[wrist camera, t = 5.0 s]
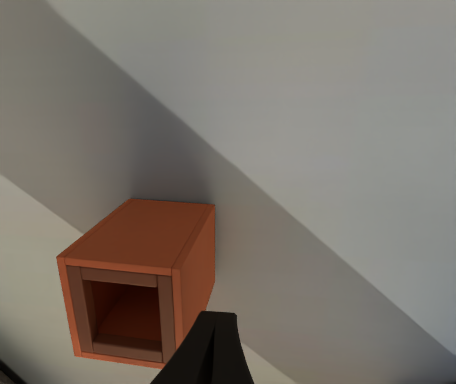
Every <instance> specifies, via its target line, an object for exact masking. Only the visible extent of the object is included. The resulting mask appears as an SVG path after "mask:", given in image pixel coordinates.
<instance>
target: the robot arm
mask: <svg viewBox="0 0 456 384" xmlns="http://www.w3.org/2000/svg"><path fill="white" fill-rule="evenodd" d="M150 384H254V382H253V379H252V377H251V374H250V371H249V369H248V366H247V363H246V360H245V356H244V353H243V350H242V346H241V343H240V338H239V333H238V328H237V315H236V314H235V313H228V312H213V311H201V312H200V313H199V314H198V316H197V318H196V320H195V322H194V324H193V326H192V327H191V329H190V331H189V332H188V334H187V335H186V337H185V338H184V340H183V341H182V343H181V344H180V346H179V347H178V349H177V350H176V352H175V353H174V354H173V356H172V357H171V358H170V360H169V361H168V362H167V364H166V365H165V366H164V367H163V369H162V370H161V371H160V372H159V374H158V375H157V376H156V377H155V378H154V380H153V381H152V382H151V383H150Z"/></svg>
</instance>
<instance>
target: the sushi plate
mask: <svg viewBox="0 0 456 384" xmlns="http://www.w3.org/2000/svg"><path fill="white" fill-rule="evenodd" d="M0 384H15V383H14V382H13V381H12V380H11V379H10V378H8V377H7V376H6V375H5V374H4V373H3V372H2V371H1V370H0Z"/></svg>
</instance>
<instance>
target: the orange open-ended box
mask: <svg viewBox="0 0 456 384" xmlns="http://www.w3.org/2000/svg"><path fill="white" fill-rule="evenodd" d="M56 259H57V264H58V269H59V275H60V280H61V286H62V291H63V296H64V302H65V307H66V312H67V318H68V323H69V328H70V334H71V339H72V344H73V350H74V355H75V356H76V357H83V358H90V359H97V360H104V361H110V362H117V363H124V364H131V365H138V366H144V367H151V368H158V369H163V367H164V366H165V365H166V364H167V362H168V361H169V360H170V358H171V357H172V356H173V354H174V353H175V352H176V350H177V349H178V347H179V346H180V344H181V343H182V341H183V340H184V338H185V337H186V335H187V334H188V332H189V331H190V329H191V327H192V326H193V324H194V322H195V320H196V318H197V316H198V314H199V313H200V312H201V311H205V310H206V307H207V304H208V301H209V298H210V295H211V292H212V289H213V286H214V283H215V205H213V204H209V205H208V204H198V203H184V202H170V201H155V200H141V199H128V200H127V201H126V202H124V203H123V204H122V205H121V206H119V207H118V208H117V209H116V210H114V211H113V212H112V213H111V214H109V215H108V216H107V217H106V218H104V219H103V220H102V221H100V222H99V223H98V224H97V225H95V226H94V227H93V228H92V229H90V230H89V231H88V232H87V233H85V234H84V235H83V236H82V237H80V238H79V239H78V240H77V241H75V242H74V243H73V244H72V245H70V246H69V247H68V248H67V249H65V250H64V251H63V252H61V253H60V254H59V255H58V256H57V257H56Z"/></svg>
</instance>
